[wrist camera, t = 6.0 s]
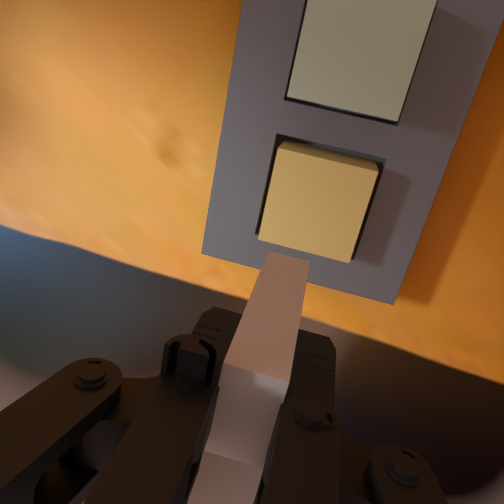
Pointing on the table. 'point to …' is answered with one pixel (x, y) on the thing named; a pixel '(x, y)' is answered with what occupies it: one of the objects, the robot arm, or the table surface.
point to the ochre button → (317, 200)
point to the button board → (344, 140)
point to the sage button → (359, 53)
